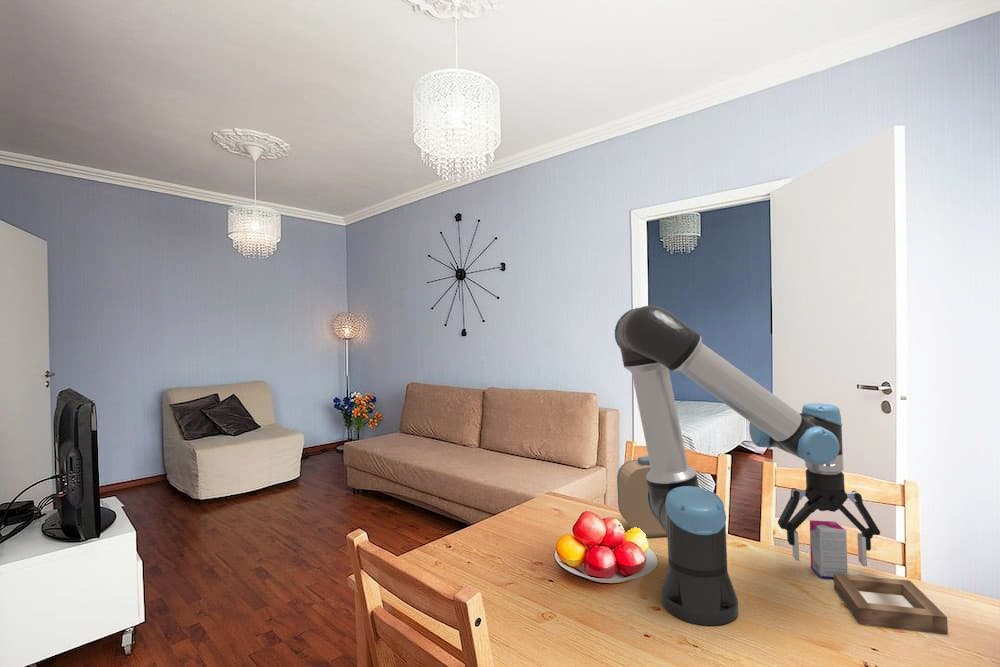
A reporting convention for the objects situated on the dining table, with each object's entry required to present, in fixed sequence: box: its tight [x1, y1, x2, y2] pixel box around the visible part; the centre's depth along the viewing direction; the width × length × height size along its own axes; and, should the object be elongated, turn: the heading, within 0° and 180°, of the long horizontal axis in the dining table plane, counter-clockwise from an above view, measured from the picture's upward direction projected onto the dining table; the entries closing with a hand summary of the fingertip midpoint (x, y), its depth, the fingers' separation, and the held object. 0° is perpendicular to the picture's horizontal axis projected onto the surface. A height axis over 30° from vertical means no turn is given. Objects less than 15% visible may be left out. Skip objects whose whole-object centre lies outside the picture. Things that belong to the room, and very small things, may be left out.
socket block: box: [833, 574, 949, 635], centre depth 100 cm, size 14×14×3 cm
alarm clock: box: [616, 455, 667, 538], centre depth 144 cm, size 21×10×22 cm, turn 94°
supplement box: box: [809, 519, 849, 580], centre depth 115 cm, size 6×6×12 cm
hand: (828, 561), depth 115 cm, fingers open, 13 cm apart
